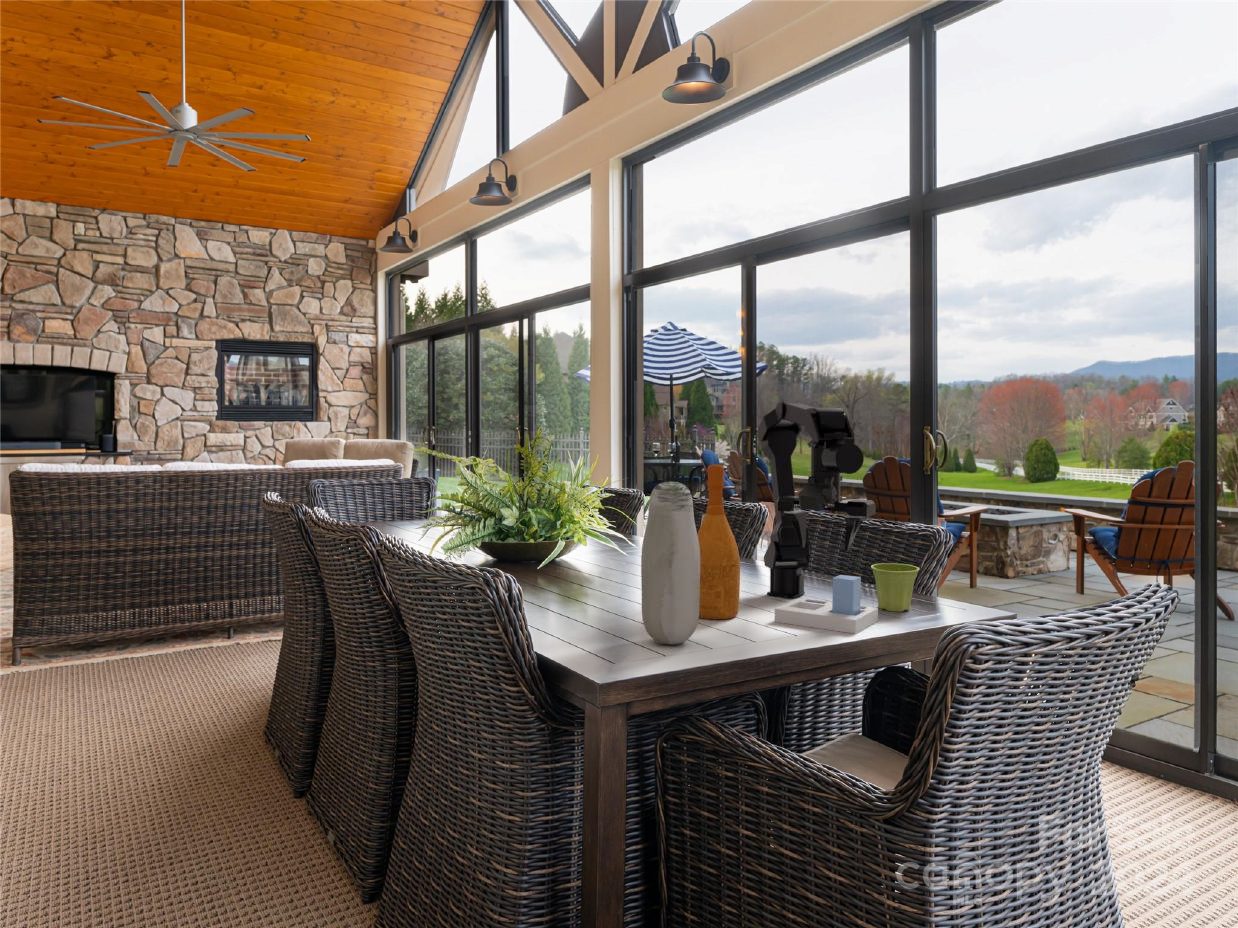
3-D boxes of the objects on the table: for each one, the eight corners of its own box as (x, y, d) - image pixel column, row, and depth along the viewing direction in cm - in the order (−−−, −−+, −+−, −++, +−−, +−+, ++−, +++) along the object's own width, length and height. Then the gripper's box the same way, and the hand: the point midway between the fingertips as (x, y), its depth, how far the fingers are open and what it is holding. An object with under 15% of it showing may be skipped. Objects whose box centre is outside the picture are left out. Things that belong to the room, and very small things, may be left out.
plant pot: (921, 615, 172) (922, 571, 171) (872, 612, 173) (873, 569, 173) (915, 605, 181) (915, 564, 180) (868, 603, 183) (869, 562, 182)
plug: (832, 625, 163) (832, 577, 162) (841, 620, 167) (841, 574, 166) (852, 627, 161) (853, 580, 160) (861, 623, 164) (862, 576, 164)
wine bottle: (743, 611, 174) (745, 463, 172) (734, 622, 164) (735, 465, 163) (696, 608, 177) (697, 462, 175) (684, 618, 168) (685, 464, 166)
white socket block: (774, 621, 165) (774, 607, 165) (799, 610, 175) (800, 597, 175) (855, 633, 156) (855, 618, 156) (877, 621, 166) (878, 607, 166)
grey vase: (704, 649, 145) (705, 483, 144) (643, 650, 144) (644, 483, 143) (694, 634, 155) (695, 479, 154) (638, 635, 154) (638, 479, 153)
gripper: (764, 471, 170) (763, 549, 170) (857, 474, 159) (855, 558, 160) (788, 468, 179) (787, 543, 179) (877, 472, 168) (875, 551, 169)
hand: (824, 549), depth 172 cm, fingers open, 9 cm apart
